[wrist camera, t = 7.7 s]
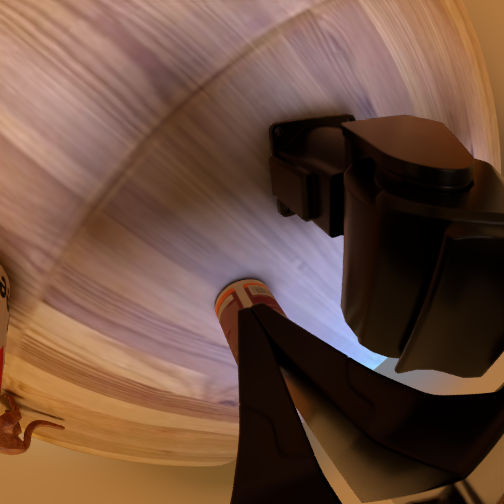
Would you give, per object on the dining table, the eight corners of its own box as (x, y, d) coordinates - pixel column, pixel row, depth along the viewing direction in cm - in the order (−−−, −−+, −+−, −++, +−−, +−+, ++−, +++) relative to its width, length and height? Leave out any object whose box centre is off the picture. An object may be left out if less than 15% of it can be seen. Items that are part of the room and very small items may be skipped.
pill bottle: (225, 329, 24) (260, 410, 17) (205, 293, 21) (241, 386, 14) (274, 306, 24) (321, 381, 18) (262, 267, 21) (317, 349, 15)
